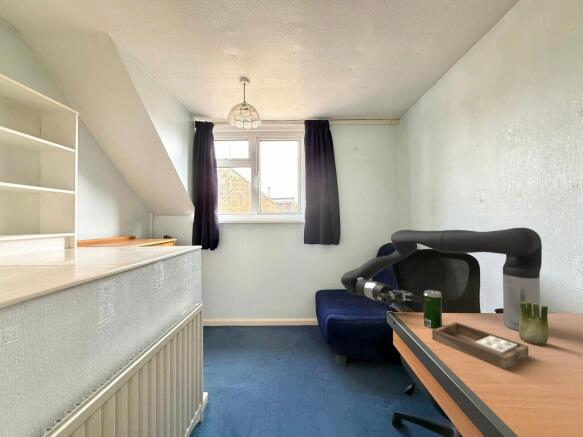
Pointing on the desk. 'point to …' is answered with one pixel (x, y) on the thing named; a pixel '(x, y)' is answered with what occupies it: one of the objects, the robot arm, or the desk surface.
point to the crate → (465, 342)
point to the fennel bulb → (533, 324)
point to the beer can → (432, 309)
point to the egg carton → (496, 345)
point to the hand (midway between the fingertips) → (412, 302)
